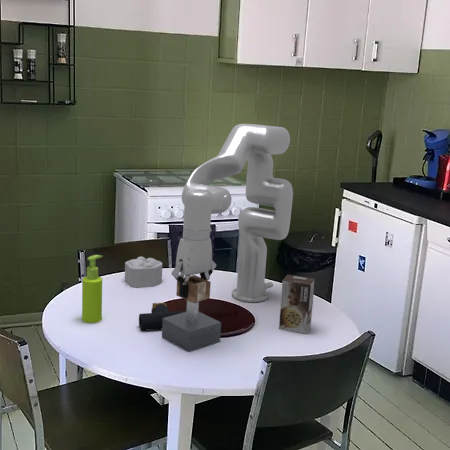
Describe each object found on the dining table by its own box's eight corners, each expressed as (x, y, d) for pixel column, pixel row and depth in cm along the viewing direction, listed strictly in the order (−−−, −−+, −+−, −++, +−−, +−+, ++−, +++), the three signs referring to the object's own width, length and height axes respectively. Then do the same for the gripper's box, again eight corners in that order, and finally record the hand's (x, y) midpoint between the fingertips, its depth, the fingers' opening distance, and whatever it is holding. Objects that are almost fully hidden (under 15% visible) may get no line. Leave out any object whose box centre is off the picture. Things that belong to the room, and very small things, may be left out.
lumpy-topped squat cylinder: (122, 279, 237) (123, 256, 235) (156, 276, 243) (157, 254, 241) (131, 289, 228) (132, 265, 226) (166, 285, 234) (167, 262, 232)
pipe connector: (135, 302, 202) (182, 299, 207) (134, 318, 204) (181, 315, 208) (142, 317, 192) (191, 314, 197) (141, 333, 193) (190, 330, 198)
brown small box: (193, 291, 192) (194, 275, 190) (209, 298, 186) (210, 281, 185) (176, 295, 187) (177, 278, 186) (192, 302, 182) (193, 285, 181)
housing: (193, 327, 198) (195, 290, 196) (219, 341, 190) (222, 302, 187) (161, 337, 190) (163, 298, 188) (188, 352, 182) (190, 311, 179)
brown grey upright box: (311, 327, 205) (316, 278, 201) (306, 334, 199) (311, 284, 195) (282, 321, 208) (287, 273, 204) (277, 329, 202) (282, 279, 198)
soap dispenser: (107, 317, 203) (108, 255, 198) (94, 324, 196) (94, 261, 192) (91, 313, 205) (92, 252, 200) (78, 320, 199) (78, 257, 194)
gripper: (210, 227, 191) (207, 285, 195) (163, 234, 179) (160, 296, 184) (228, 233, 186) (224, 292, 190) (180, 241, 174) (177, 304, 178)
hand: (193, 294), depth 187 cm, fingers closed on brown small box, 6 cm apart
